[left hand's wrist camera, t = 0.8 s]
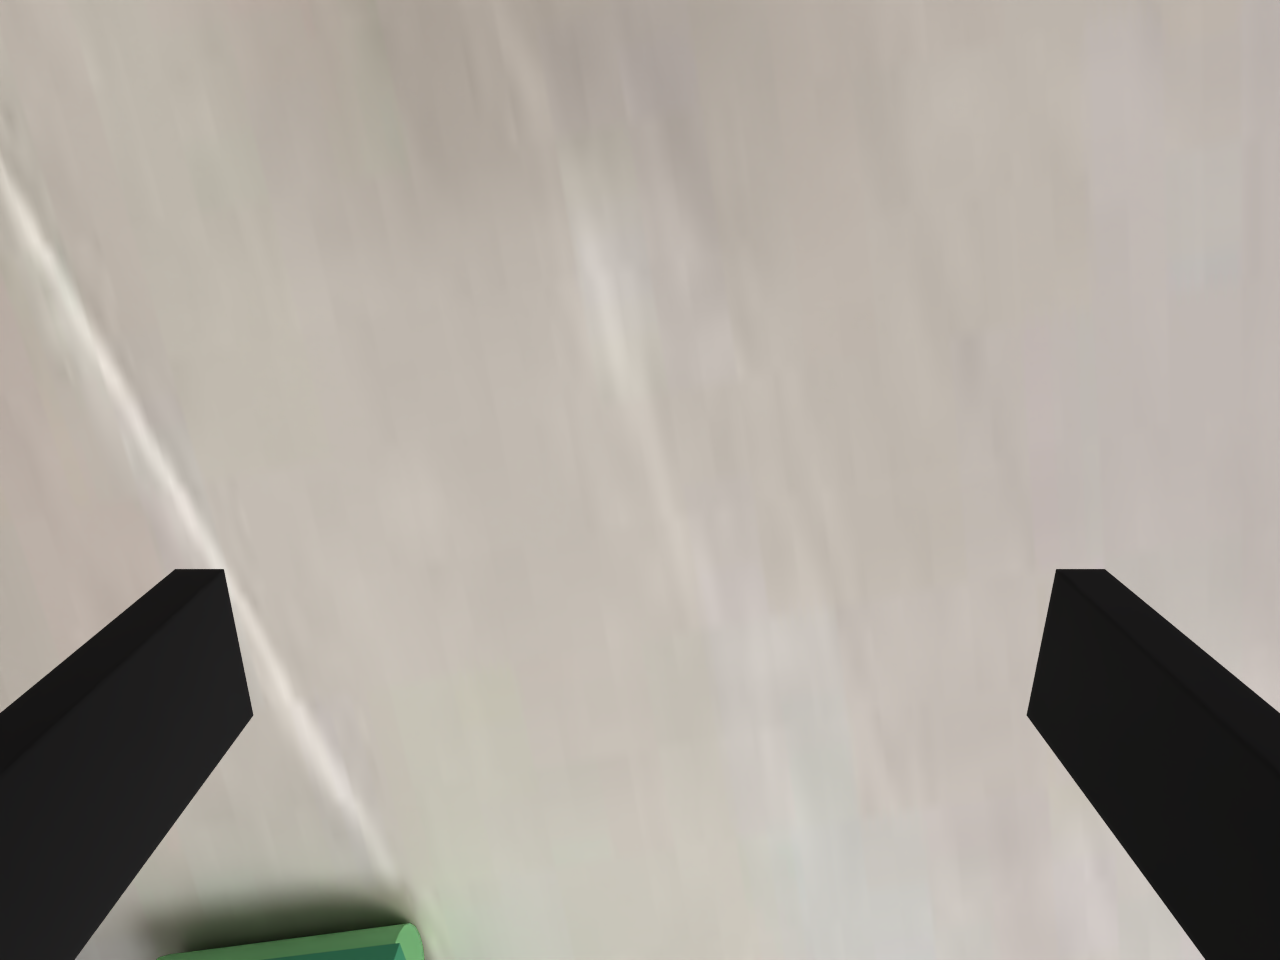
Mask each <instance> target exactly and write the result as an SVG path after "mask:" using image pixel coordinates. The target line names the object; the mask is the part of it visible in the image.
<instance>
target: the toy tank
mask: <svg viewBox="0 0 1280 960" xmlns="http://www.w3.org/2000/svg"><path fill="white" fill-rule="evenodd" d="M157 960H424V953H423V946H422V942H421V938H420V934H419V932H418V930H417V929H416V927H415V926H414V925H412V924H411V923H407V924H400V925H392V926H384V927H377V928H369V929H361V930H353V931H346V932H338V933H330V934H323V935H315V936H307V937H300V938H292V939H284V940H276V941H269V942H261V943H253V944H246V945H238V946H230V947H222V948H215V949H207V950H199V951H192V952H184V953H176V954H169V955H166V956H162V957H159V958H158V959H157Z"/></svg>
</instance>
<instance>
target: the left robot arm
mask: <svg viewBox="0 0 1280 960" xmlns="http://www.w3.org/2000/svg"><path fill="white" fill-rule="evenodd" d="M252 716H253V711H252V706H251V702H250V697H249V692H248V687H247V682H246V677H245V672H244V667H243V662H242V657H241V652H240V647H239V642H238V637H237V632H236V627H235V622H234V617H233V612H232V607H231V602H230V597H229V593H228V588H227V583H226V578H225V573H224V569H175V570H174V571H172V572H171V573H170V574H169V575H168V576H166V577H165V578H164V579H163V580H162V581H160V582H159V583H158V584H157V585H155V586H154V587H153V588H152V589H151V590H149V591H148V592H147V593H146V594H145V595H143V596H142V597H141V598H140V599H138V600H137V601H136V602H135V603H134V604H132V605H131V606H130V607H129V608H127V609H126V610H125V611H124V612H123V613H121V614H120V615H119V616H118V617H117V618H115V619H114V620H113V621H112V622H110V623H109V624H108V625H107V626H106V627H104V628H103V629H102V630H101V631H100V632H98V633H97V634H96V635H95V636H93V637H92V638H91V639H90V640H89V641H87V642H86V643H85V644H84V645H83V646H81V647H80V648H79V649H78V650H76V651H75V652H74V653H73V654H72V655H70V656H69V657H68V658H67V659H66V660H64V661H63V662H62V663H61V664H59V665H58V666H57V667H56V668H55V669H53V670H52V671H51V672H50V673H49V674H47V675H46V676H45V677H44V678H42V679H41V680H40V681H39V682H38V683H36V684H35V685H34V686H33V687H31V688H30V689H29V690H28V691H27V692H25V693H24V694H23V695H22V696H21V697H19V698H18V699H17V700H16V701H14V702H13V703H12V704H11V705H10V706H8V707H7V708H6V709H5V710H4V711H2V712H1V713H0V960H75V958H76V957H77V956H78V954H79V953H80V951H81V950H82V949H83V947H84V946H85V945H86V943H87V942H88V941H89V939H90V938H91V936H92V935H93V934H94V932H95V931H96V930H97V928H98V927H99V925H100V924H101V923H102V921H103V920H104V919H105V917H106V916H107V915H108V913H109V912H110V910H111V909H112V908H113V906H114V905H115V904H116V902H117V901H118V900H119V898H120V897H121V895H122V894H123V893H124V891H125V890H126V889H127V887H128V886H129V884H130V883H131V882H132V880H133V879H134V878H135V876H136V875H137V874H138V872H139V871H140V869H141V868H142V867H143V865H144V864H145V863H146V861H147V860H148V859H149V857H150V856H151V854H152V853H153V852H154V850H155V849H156V848H157V846H158V845H159V843H160V842H161V841H162V839H163V838H164V837H165V835H166V834H167V833H168V831H169V830H170V828H171V827H172V826H173V824H174V823H175V822H176V820H177V819H178V818H179V816H180V815H181V813H182V812H183V811H184V809H185V808H186V807H187V805H188V804H189V802H190V801H191V800H192V798H193V797H194V796H195V794H196V793H197V792H198V790H199V789H200V787H201V786H202V785H203V783H204V782H205V781H206V779H207V778H208V777H209V775H210V774H211V772H212V771H213V770H214V768H215V767H216V766H217V764H218V763H219V761H220V760H221V759H222V757H223V756H224V755H225V753H226V752H227V751H228V749H229V748H230V746H231V745H232V744H233V742H234V741H235V740H236V738H237V737H238V736H239V734H240V733H241V731H242V730H243V729H244V727H245V726H246V725H247V723H248V722H249V720H250V719H251V718H252ZM1027 716H1028V718H1029V719H1030V720H1031V722H1032V723H1033V725H1034V726H1035V727H1036V729H1037V730H1038V731H1039V733H1040V734H1041V736H1042V737H1043V738H1044V740H1045V741H1046V742H1047V744H1048V745H1049V746H1050V748H1051V749H1052V751H1053V752H1054V753H1055V755H1056V756H1057V757H1058V759H1059V760H1060V761H1061V763H1062V764H1063V766H1064V767H1065V768H1066V770H1067V771H1068V772H1069V774H1070V775H1071V777H1072V778H1073V779H1074V781H1075V782H1076V783H1077V785H1078V786H1079V787H1080V789H1081V790H1082V792H1083V793H1084V794H1085V796H1086V797H1087V798H1088V800H1089V801H1090V802H1091V804H1092V805H1093V807H1094V808H1095V809H1096V811H1097V812H1098V813H1099V815H1100V816H1101V818H1102V819H1103V820H1104V822H1105V823H1106V824H1107V826H1108V827H1109V828H1110V830H1111V831H1112V833H1113V834H1114V835H1115V837H1116V838H1117V839H1118V841H1119V842H1120V843H1121V845H1122V846H1123V848H1124V849H1125V850H1126V852H1127V853H1128V854H1129V856H1130V857H1131V859H1132V860H1133V861H1134V863H1135V864H1136V865H1137V867H1138V868H1139V869H1140V871H1141V872H1142V874H1143V875H1144V876H1145V878H1146V879H1147V880H1148V882H1149V883H1150V884H1151V886H1152V887H1153V889H1154V890H1155V891H1156V893H1157V894H1158V895H1159V897H1160V898H1161V900H1162V901H1163V902H1164V904H1165V905H1166V906H1167V908H1168V909H1169V910H1170V912H1171V913H1172V915H1173V916H1174V917H1175V919H1176V920H1177V921H1178V923H1179V924H1180V926H1181V927H1182V928H1183V930H1184V931H1185V932H1186V934H1187V935H1188V936H1189V938H1190V939H1191V941H1192V942H1193V943H1194V945H1195V946H1196V947H1197V949H1198V950H1199V951H1200V953H1201V954H1202V956H1203V957H1204V958H1205V960H1280V713H1279V712H1278V711H1276V710H1275V709H1274V708H1273V707H1272V706H1270V705H1269V704H1268V703H1267V702H1266V701H1264V700H1263V699H1262V698H1261V697H1259V696H1258V695H1257V694H1256V693H1255V692H1253V691H1252V690H1251V689H1250V688H1249V687H1247V686H1246V685H1245V684H1244V683H1242V682H1241V681H1240V680H1239V679H1238V678H1236V677H1235V676H1234V675H1233V674H1231V673H1230V672H1229V671H1228V670H1227V669H1225V668H1224V667H1223V666H1222V665H1221V664H1219V663H1218V662H1217V661H1216V660H1214V659H1213V658H1212V657H1211V656H1210V655H1208V654H1207V653H1206V652H1205V651H1204V650H1202V649H1201V648H1200V647H1199V646H1197V645H1196V644H1195V643H1194V642H1193V641H1191V640H1190V639H1189V638H1188V637H1187V636H1185V635H1184V634H1183V633H1182V632H1180V631H1179V630H1178V629H1177V628H1176V627H1174V626H1173V625H1172V624H1171V623H1170V622H1168V621H1167V620H1166V619H1165V618H1163V617H1162V616H1161V615H1160V614H1159V613H1157V612H1156V611H1155V610H1154V609H1153V608H1151V607H1150V606H1149V605H1148V604H1146V603H1145V602H1144V601H1143V600H1142V599H1140V598H1139V597H1138V596H1137V595H1135V594H1134V593H1133V592H1132V591H1131V590H1129V589H1128V588H1127V587H1126V586H1125V585H1123V584H1122V583H1121V582H1120V581H1118V580H1117V579H1116V578H1115V577H1114V576H1112V575H1111V574H1110V573H1109V572H1108V571H1106V570H1105V569H1056V573H1055V578H1054V583H1053V588H1052V593H1051V597H1050V602H1049V607H1048V612H1047V617H1046V622H1045V627H1044V632H1043V637H1042V642H1041V647H1040V652H1039V657H1038V662H1037V667H1036V672H1035V677H1034V682H1033V687H1032V692H1031V697H1030V702H1029V706H1028V711H1027Z"/></svg>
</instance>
